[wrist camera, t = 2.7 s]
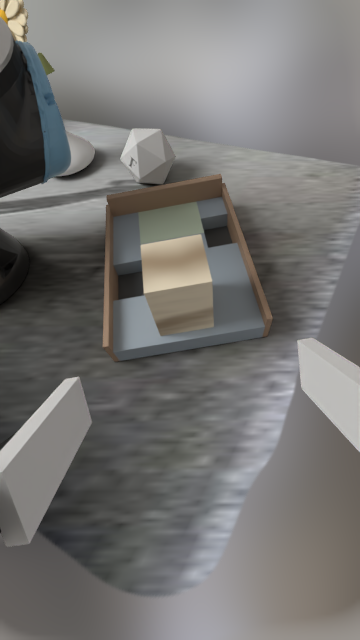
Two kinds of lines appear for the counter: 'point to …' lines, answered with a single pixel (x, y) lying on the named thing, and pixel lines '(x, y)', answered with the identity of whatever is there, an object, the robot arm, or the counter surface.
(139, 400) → the counter surface
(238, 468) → the counter surface
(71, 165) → the flower in vase
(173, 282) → the block
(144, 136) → the die
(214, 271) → the box
